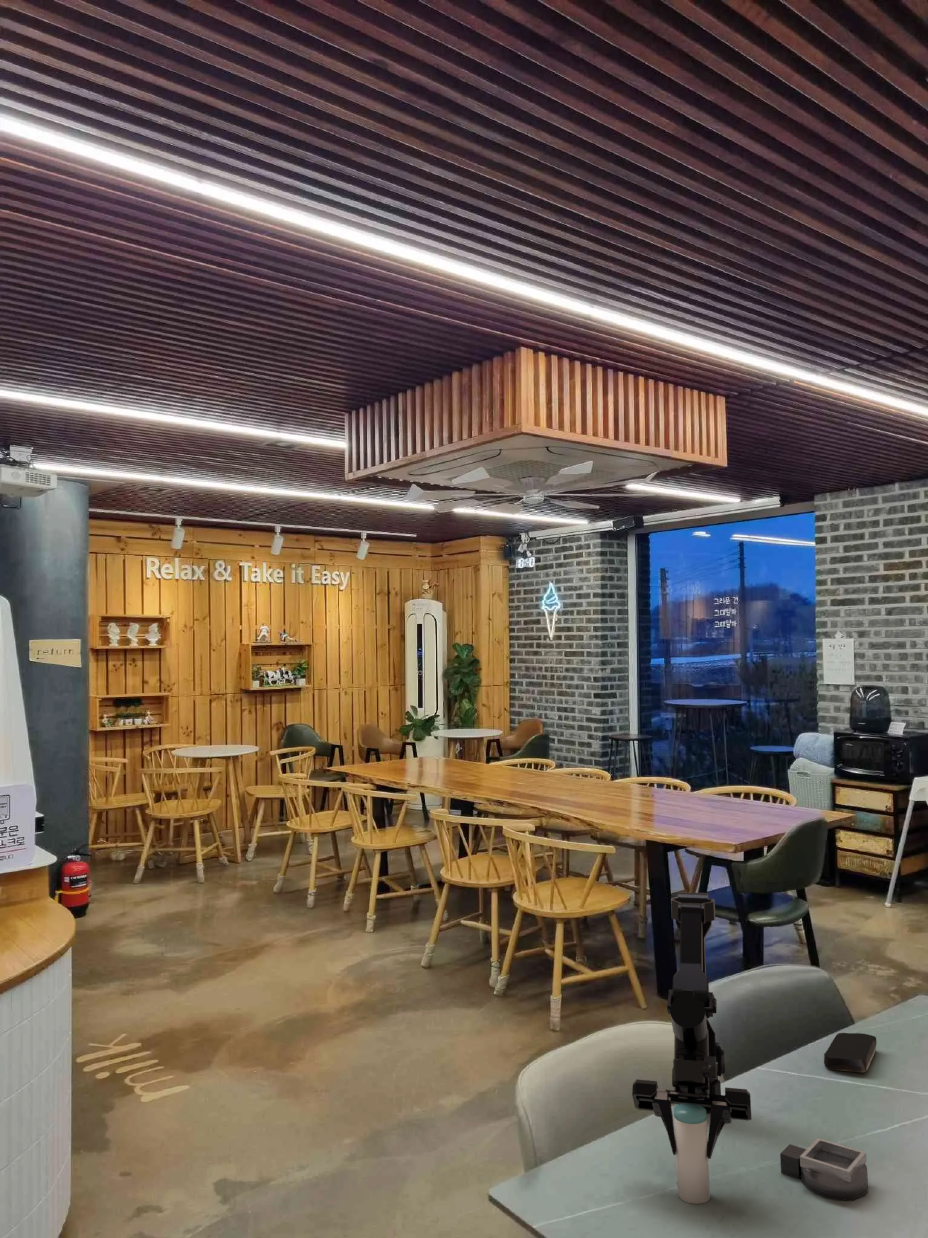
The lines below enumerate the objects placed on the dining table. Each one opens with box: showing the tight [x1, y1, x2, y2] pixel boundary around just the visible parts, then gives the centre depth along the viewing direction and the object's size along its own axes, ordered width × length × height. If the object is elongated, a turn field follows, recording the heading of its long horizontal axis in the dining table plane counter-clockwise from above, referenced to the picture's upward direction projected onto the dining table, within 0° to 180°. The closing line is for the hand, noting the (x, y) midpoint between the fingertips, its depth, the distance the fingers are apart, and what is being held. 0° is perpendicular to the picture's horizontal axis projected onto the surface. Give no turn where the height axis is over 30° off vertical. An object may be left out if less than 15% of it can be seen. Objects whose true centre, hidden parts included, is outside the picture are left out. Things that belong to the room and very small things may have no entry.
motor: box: [779, 1137, 869, 1202], centre depth 149 cm, size 13×10×4 cm
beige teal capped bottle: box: [673, 1103, 711, 1205], centre depth 146 cm, size 5×5×13 cm
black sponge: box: [823, 1032, 877, 1073], centre depth 196 cm, size 16×8×4 cm, turn 147°
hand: (691, 1156), depth 145 cm, fingers closed on beige teal capped bottle, 5 cm apart
